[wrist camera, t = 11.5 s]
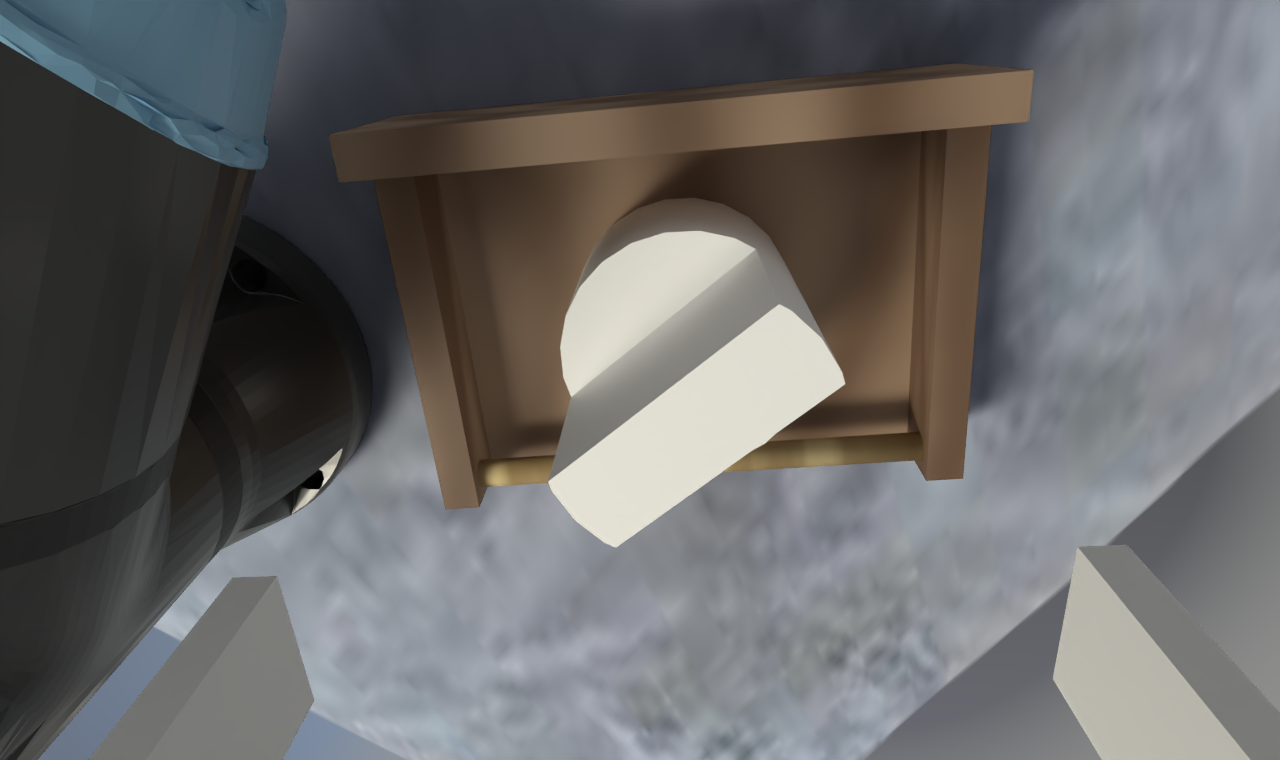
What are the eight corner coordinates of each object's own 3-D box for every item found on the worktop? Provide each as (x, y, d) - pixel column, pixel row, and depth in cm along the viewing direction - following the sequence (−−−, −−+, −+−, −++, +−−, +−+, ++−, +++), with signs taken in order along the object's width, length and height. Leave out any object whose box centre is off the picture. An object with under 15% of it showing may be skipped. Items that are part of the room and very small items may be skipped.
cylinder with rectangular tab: (699, 149, 31) (716, 210, 20) (834, 316, 33) (915, 452, 22) (534, 293, 33) (468, 417, 22) (671, 438, 36) (672, 613, 25)
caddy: (467, 463, 38) (425, 550, 32) (397, 115, 32) (328, 135, 25) (933, 434, 37) (989, 518, 30) (956, 63, 30) (1034, 69, 24)
